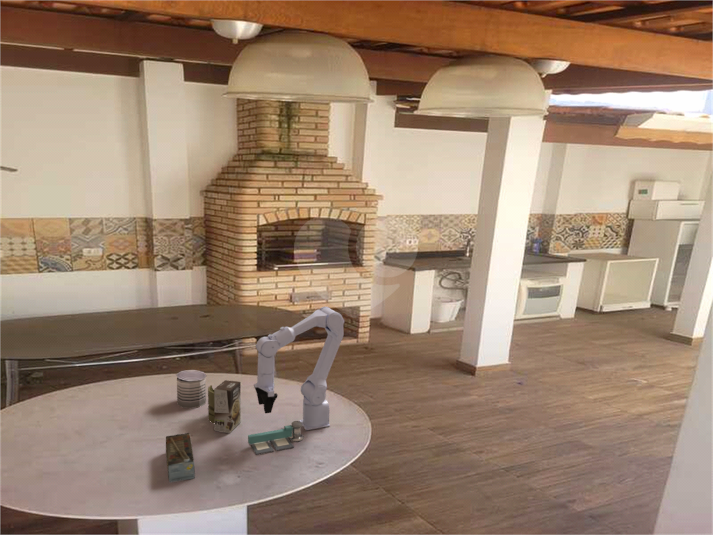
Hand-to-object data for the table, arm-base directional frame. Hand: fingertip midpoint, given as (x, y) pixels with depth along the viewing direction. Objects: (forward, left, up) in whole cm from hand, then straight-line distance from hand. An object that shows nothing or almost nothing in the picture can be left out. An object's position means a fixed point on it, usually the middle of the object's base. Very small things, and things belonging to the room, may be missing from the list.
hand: (264, 408), depth 196 cm
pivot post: (-9, +7, -10) cm, 15 cm away
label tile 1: (+4, +8, -10) cm, 13 cm away
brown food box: (+11, -18, -10) cm, 23 cm away
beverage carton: (+30, +10, -10) cm, 34 cm away
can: (+20, -36, -10) cm, 42 cm away
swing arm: (-2, +7, -8) cm, 11 cm away
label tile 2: (-3, +8, -10) cm, 13 cm away
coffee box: (+11, -10, -10) cm, 18 cm away
